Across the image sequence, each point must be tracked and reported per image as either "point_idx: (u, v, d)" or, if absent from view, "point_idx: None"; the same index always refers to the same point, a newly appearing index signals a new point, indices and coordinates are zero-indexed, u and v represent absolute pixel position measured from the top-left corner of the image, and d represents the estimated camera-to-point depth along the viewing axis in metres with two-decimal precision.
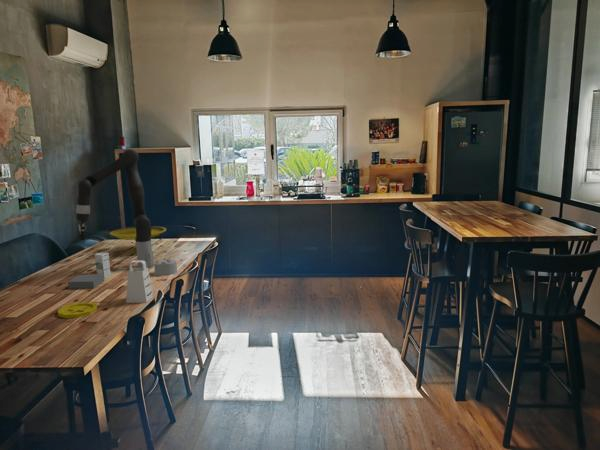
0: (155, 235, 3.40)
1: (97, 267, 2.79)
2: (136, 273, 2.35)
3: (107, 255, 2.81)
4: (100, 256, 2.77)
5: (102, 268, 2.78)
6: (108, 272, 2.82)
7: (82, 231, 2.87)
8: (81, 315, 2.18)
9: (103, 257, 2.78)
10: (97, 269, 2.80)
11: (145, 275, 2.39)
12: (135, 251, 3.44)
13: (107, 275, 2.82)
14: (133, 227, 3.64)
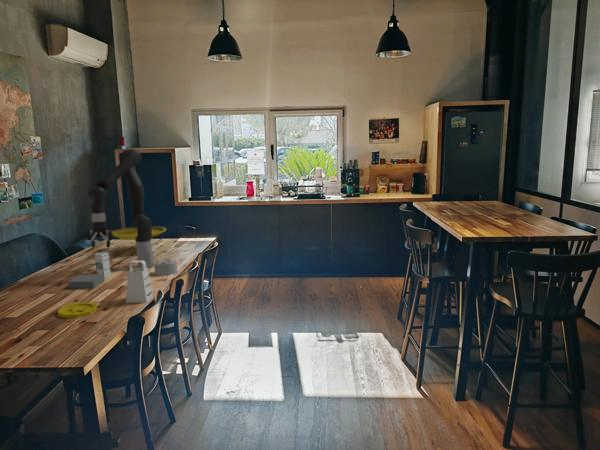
0: (155, 235, 3.40)
1: (97, 267, 2.79)
2: (136, 273, 2.35)
3: (107, 255, 2.81)
4: (100, 256, 2.77)
5: (102, 268, 2.78)
6: (108, 272, 2.82)
7: None
8: (81, 315, 2.18)
9: (103, 257, 2.78)
10: (97, 269, 2.80)
11: (145, 275, 2.39)
12: (135, 251, 3.44)
13: (107, 275, 2.82)
14: (133, 227, 3.64)
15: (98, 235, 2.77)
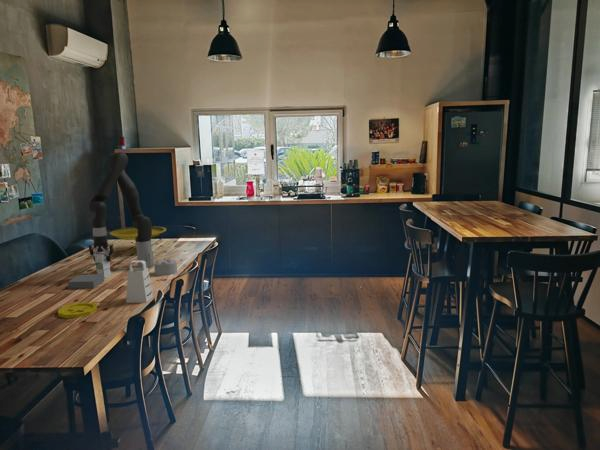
0: (155, 235, 3.40)
1: (97, 267, 2.79)
2: (136, 273, 2.35)
3: None
4: (100, 256, 2.77)
5: (102, 268, 2.78)
6: (108, 272, 2.82)
7: None
8: (81, 315, 2.18)
9: (103, 257, 2.78)
10: (97, 269, 2.80)
11: (145, 275, 2.39)
12: (135, 251, 3.44)
13: (107, 275, 2.82)
14: (133, 227, 3.64)
15: (100, 249, 2.79)
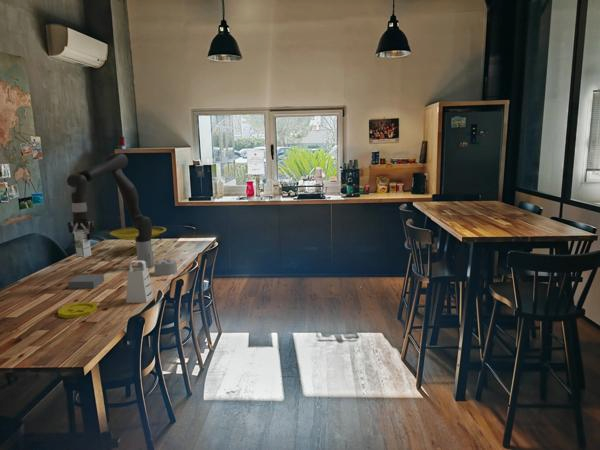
0: (155, 235, 3.40)
1: (76, 245, 2.61)
2: (136, 273, 2.35)
3: (87, 233, 2.62)
4: (79, 233, 2.59)
5: (82, 247, 2.60)
6: (88, 251, 2.64)
7: None
8: (81, 315, 2.18)
9: (83, 235, 2.59)
10: (76, 248, 2.61)
11: (145, 275, 2.39)
12: (135, 251, 3.44)
13: (87, 254, 2.63)
14: (133, 227, 3.64)
15: (79, 226, 2.60)
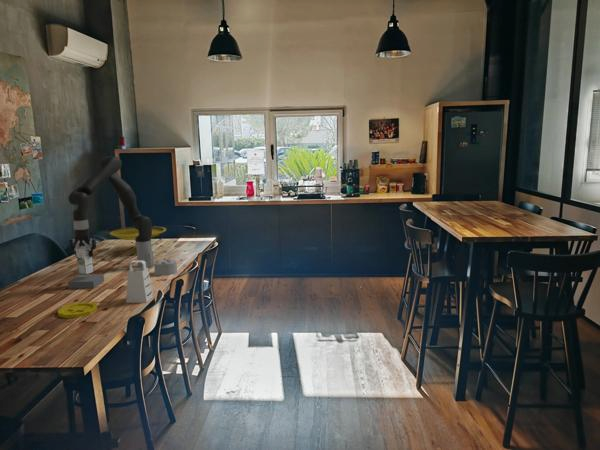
0: (155, 235, 3.40)
1: (78, 262, 2.63)
2: (136, 273, 2.35)
3: None
4: (81, 251, 2.60)
5: (84, 264, 2.61)
6: (90, 268, 2.65)
7: None
8: (81, 315, 2.18)
9: (85, 252, 2.61)
10: (78, 265, 2.63)
11: (145, 275, 2.39)
12: (135, 251, 3.44)
13: (89, 271, 2.65)
14: (133, 227, 3.64)
15: (81, 243, 2.62)
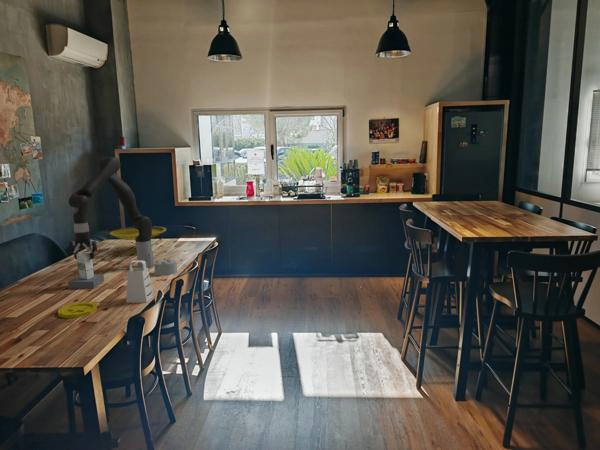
0: (155, 235, 3.40)
1: (79, 268, 2.63)
2: (136, 273, 2.35)
3: None
4: (82, 256, 2.61)
5: (85, 269, 2.62)
6: (91, 273, 2.66)
7: (77, 252, 2.64)
8: (81, 315, 2.18)
9: (85, 257, 2.61)
10: (79, 270, 2.63)
11: (145, 275, 2.39)
12: (135, 251, 3.44)
13: (90, 276, 2.65)
14: (133, 227, 3.64)
15: (81, 246, 2.62)
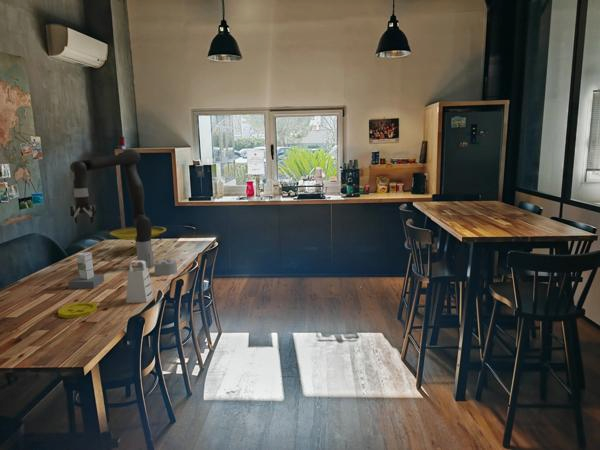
0: (155, 235, 3.40)
1: (79, 268, 2.63)
2: (136, 273, 2.35)
3: (90, 255, 2.65)
4: (82, 256, 2.61)
5: (85, 269, 2.62)
6: (91, 273, 2.66)
7: (77, 216, 2.76)
8: (81, 315, 2.18)
9: (86, 257, 2.61)
10: (79, 270, 2.63)
11: (145, 275, 2.39)
12: (135, 251, 3.44)
13: (90, 276, 2.65)
14: (133, 227, 3.64)
15: (81, 211, 2.74)
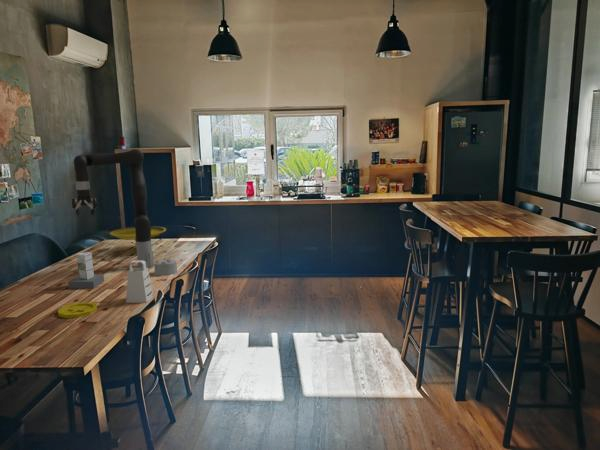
0: (155, 235, 3.40)
1: (79, 268, 2.63)
2: (136, 273, 2.35)
3: (90, 255, 2.65)
4: (82, 256, 2.61)
5: (85, 269, 2.62)
6: (91, 273, 2.66)
7: (78, 208, 2.86)
8: (81, 315, 2.18)
9: (86, 257, 2.61)
10: (79, 270, 2.63)
11: (145, 275, 2.39)
12: (135, 251, 3.44)
13: (90, 276, 2.65)
14: (133, 227, 3.64)
15: (83, 203, 2.84)
